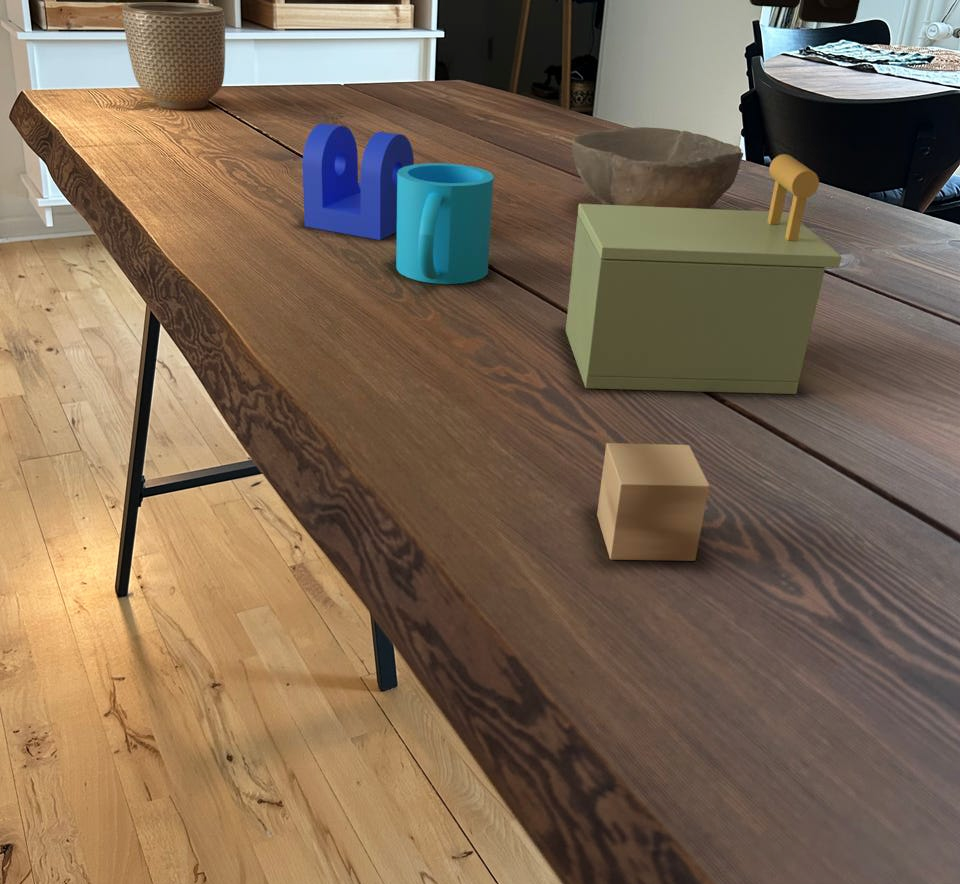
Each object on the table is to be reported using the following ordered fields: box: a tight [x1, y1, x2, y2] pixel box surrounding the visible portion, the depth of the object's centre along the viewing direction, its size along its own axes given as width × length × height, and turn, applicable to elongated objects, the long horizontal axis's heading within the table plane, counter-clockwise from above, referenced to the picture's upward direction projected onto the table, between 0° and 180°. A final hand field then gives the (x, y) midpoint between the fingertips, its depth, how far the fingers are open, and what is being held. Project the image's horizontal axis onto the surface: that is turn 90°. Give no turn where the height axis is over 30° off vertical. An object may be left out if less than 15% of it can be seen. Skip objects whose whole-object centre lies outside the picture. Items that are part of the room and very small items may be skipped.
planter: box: [121, 1, 226, 111], centre depth 147 cm, size 14×14×13 cm
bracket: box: [302, 122, 415, 241], centre depth 104 cm, size 18×8×9 cm, turn 157°
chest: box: [565, 215, 826, 395], centre depth 73 cm, size 15×11×9 cm
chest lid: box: [577, 153, 842, 269], centre depth 69 cm, size 16×11×5 cm
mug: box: [395, 162, 494, 285], centre depth 87 cm, size 12×8×8 cm
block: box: [596, 442, 710, 562], centre depth 53 cm, size 4×4×4 cm
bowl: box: [571, 126, 744, 209], centre depth 109 cm, size 18×18×8 cm
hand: (797, 13), depth 63 cm, fingers open, 9 cm apart
